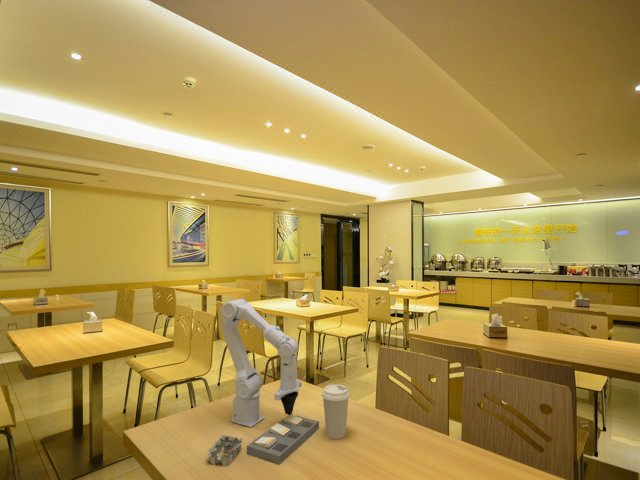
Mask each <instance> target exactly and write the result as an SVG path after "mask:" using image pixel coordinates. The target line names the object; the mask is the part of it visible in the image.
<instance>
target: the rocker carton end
mask: <svg viewBox="0 0 640 480" xmlns="http://www.w3.org/2000/svg"><path fill="white" fill-rule="evenodd" d="M275 442H276V437H262V438H260V439H259V440H257V441H256V442H255V445H257V446H260V447H264V448H269V447H270V446H271V445H273V444H274V443H275Z"/></svg>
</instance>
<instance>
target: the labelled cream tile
mask: <svg viewBox="0 0 640 480" xmlns="http://www.w3.org/2000/svg"><path fill="white" fill-rule="evenodd" d="M297 416H298V415H296V416H295V414H293V413H292V414H291V415H288V414H287V415H286V417H284V418H283V419H284V422H286V423H288V424H291V425H295V426H298V425H299V424H300V423H301V422H303V419H301V418H299V417H297Z"/></svg>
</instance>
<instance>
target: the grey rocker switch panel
mask: <svg viewBox="0 0 640 480" xmlns="http://www.w3.org/2000/svg"><path fill="white" fill-rule="evenodd" d="M294 415H295V414H294ZM295 416H297V417H299V418H301V419H303V422H301V423H300V424H299V425H298V426H295V425H291V424H288V423H286V422H284V418H282V419H281V420H280V421H278V423H279V424H281V425H282V426H284V427H286V428H288V429H290V432H289V433H288V434H287V435H285V436H284V437H283V436H279V435H276V434H273V433H271V432H270V429H271V428H272V427H270V428H269V429H268V430H266V431H265V432H264V433H262V434H261V435H259V436H258V437H257V438H256V439H254V440H253V441H251V442H250V443H248V444H247V445H246V454H247V455H249V456H252V457H253V456H254V457H257V458H259V459H262V460H264V461H265V460H266V461H268V462H271V463H274V464H277V465H280V464H282V463H283V462H284V461H285V460H286V459H287V458H288V457H289V456H290V455H292V453H295V451H296V450H297V449H298V448H299V447H300V446H301V445H302V444H304V442H306V441H307V440H308V439H309V438H310V437H311V436H312V435H313V434H314V433H315V432H317V431H318V430H319V429H320V421H319V420H315V419H311V418H308V417H303V416H299V415H295ZM262 437H276V442H275V443H274V444H273V445H271V446H270V447H269V448H264V447H260V446H257V445H255V442H256V441H257V440H259V439H260V438H262Z"/></svg>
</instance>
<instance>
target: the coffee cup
mask: <svg viewBox="0 0 640 480" xmlns="http://www.w3.org/2000/svg"><path fill="white" fill-rule="evenodd" d="M350 397H351V394H350V391H349V390H348V387H346V386H345V385H341V384H329V385H326V386H325V387H323V390H322V392H321V398H322V401H323V411H324V412H323V413H324V423H325V436H327V437H328V438H329V439H333V440H341V439H344V438H345V437H346V435H347V420H348V419H347V418H348V408H349V407H348V406H349V398H350Z"/></svg>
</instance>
